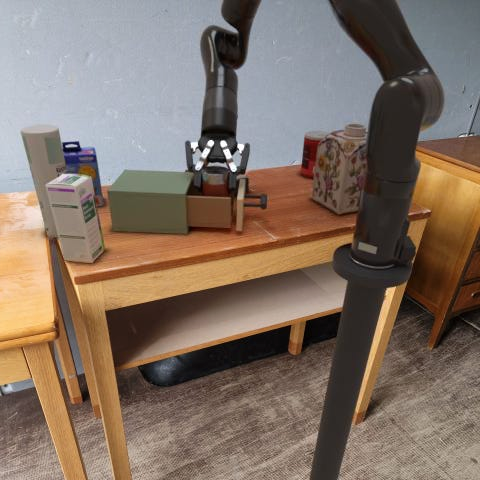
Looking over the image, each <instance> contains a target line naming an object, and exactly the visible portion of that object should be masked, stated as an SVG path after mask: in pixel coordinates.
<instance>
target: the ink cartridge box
mask: <svg viewBox="0 0 480 480" xmlns="http://www.w3.org/2000/svg"><path fill="white" fill-rule="evenodd" d="M61 143H62V149H63V154H64V159H65V164H66V169H67V174H82V175H88V176H91V178H92V183H93V188H94V193H95V198H96V203H97V208H99V207H104V205H105V202H104V201H105V199H104V196H103V189H102V183H101V175H100V168H99V163H98V157H97V151H96V148H95V147H93V146H89V147H88V146H87V147H86V146H85V147H81V145H80V141H79V140H76V141H61ZM70 145H75V146H70Z"/></svg>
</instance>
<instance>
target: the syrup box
mask: <svg viewBox="0 0 480 480" xmlns="http://www.w3.org/2000/svg"><path fill="white" fill-rule="evenodd" d="M45 186H46V190H47V194H48V198H49V202H50V206H51V210H52V214H53V218H54V222H55V226H56V229H57V233H58V237H59V238H58V241H59V245H60V249H61V253H62V257H63V261H64V260H65V261H68V262H75V263H85V264H93V263H94V262H95V260H96V259H98V258H99V256H100V255H101V254H103V253H104V251H105V250H106V245H105V241H104V235H103V231H102V224H101V219H100V215H99V209H98V207H97V203H96V198H95V193H94V188H93V183H92V178H91V176H88V175H82V174H62V175H61V176H59V177H58V178H56V179H54V180H53V181H51V182H50V183H47V184H46V185H45Z"/></svg>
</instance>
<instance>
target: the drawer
mask: <svg viewBox="0 0 480 480" xmlns="http://www.w3.org/2000/svg"><path fill="white" fill-rule="evenodd" d="M194 180H195V179H193V180H192V183H191V185H190V188H189V190H188V192H187V195H186V208H187V226H190V227H198V228H199V227H200V228H219V229H221V228H222V229H223V228H224V229H231V227H232V221H233V214H234V207H235V206H234V204H235V195H234V191H232V193H230V197H207V196H202V191H201V192H198V190H197V189H196V188H195V185H194ZM236 196H237V197H236V232H243V227H244V217H245V209H246V208H260V209H261V210H262V211H263V210H267V208H268V195H267V194H266V193H261V194H259V195H258V194H246V193H245V179H240V183H239V190H238V194H237V195H236ZM246 199H253V200H255V199H257V200H259V201H260V202H259V203H253V202H251V203H249V202H246Z"/></svg>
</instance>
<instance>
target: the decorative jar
mask: <svg viewBox="0 0 480 480" xmlns="http://www.w3.org/2000/svg"><path fill="white" fill-rule="evenodd" d="M367 129H368V126H367V125H366V124H363V123H358V122H349V123H346V124H345V125H344V129H341V130H333V131H331V132H329V133H330V134H329V135H327V136H325V137H324V139H323V140H322V141H321V142H320V143H319V144H318V149H317V156H316V164H315V172H314V179H312V180H313V181H312V189H311V190H312V191H311V199H312V200H313V201H315V202H316V203H318V204H320V205H322V206H323V207H325V208H326V209H328V210H330V211H332V212H334V213H335V214H337V215H339V216H340V215H343V214H348V213H349V214H350V213H354V212H358V208H359V203H360V198H361V193H362V187H363V182H364V177H365V171H366V165H367V162H366V158H365V145H366V138H367Z"/></svg>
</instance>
